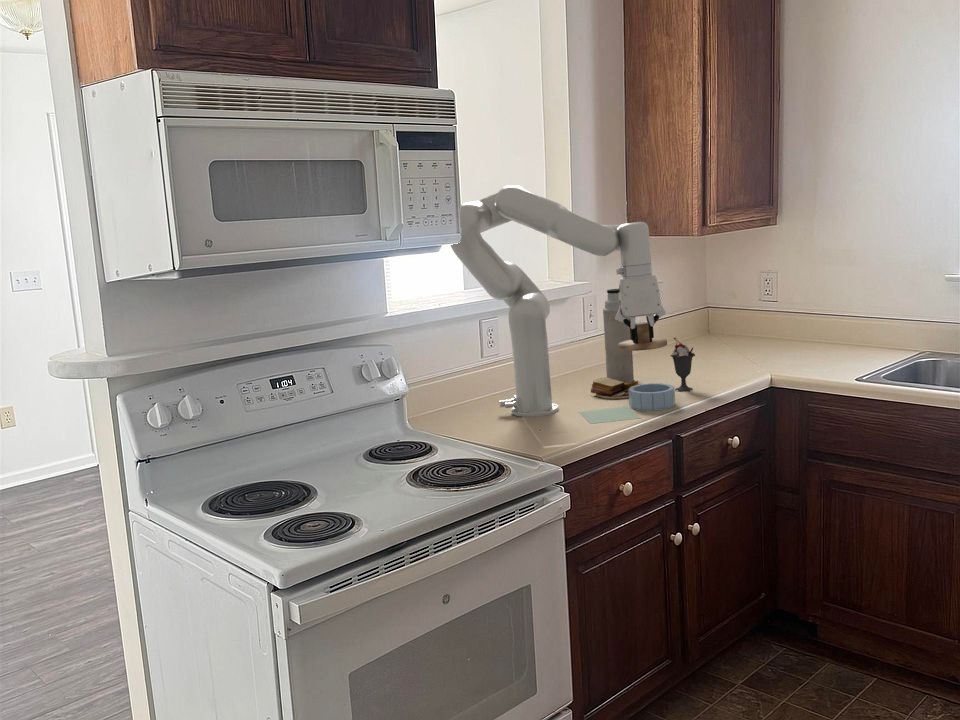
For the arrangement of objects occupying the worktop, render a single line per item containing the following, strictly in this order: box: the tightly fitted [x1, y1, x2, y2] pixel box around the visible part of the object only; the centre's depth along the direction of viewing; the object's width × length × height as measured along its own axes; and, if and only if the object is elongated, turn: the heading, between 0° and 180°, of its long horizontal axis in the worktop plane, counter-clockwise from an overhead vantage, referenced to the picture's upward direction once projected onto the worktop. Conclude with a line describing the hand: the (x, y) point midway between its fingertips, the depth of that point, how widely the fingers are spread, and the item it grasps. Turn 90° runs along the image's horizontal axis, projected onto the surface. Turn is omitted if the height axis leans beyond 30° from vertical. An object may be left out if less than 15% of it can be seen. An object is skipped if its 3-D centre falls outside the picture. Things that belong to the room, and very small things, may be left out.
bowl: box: [628, 382, 676, 412], centre depth 233 cm, size 12×12×5 cm
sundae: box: [670, 337, 696, 392], centre depth 248 cm, size 7×7×15 cm
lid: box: [618, 321, 668, 352], centre depth 228 cm, size 12×12×6 cm
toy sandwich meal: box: [590, 377, 639, 400], centre depth 249 cm, size 12×14×5 cm
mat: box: [578, 406, 642, 425], centre depth 227 cm, size 13×13×1 cm
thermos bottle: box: [602, 288, 635, 383], centre depth 264 cm, size 8×8×28 cm
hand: (642, 341), depth 228 cm, fingers closed on lid, 3 cm apart
